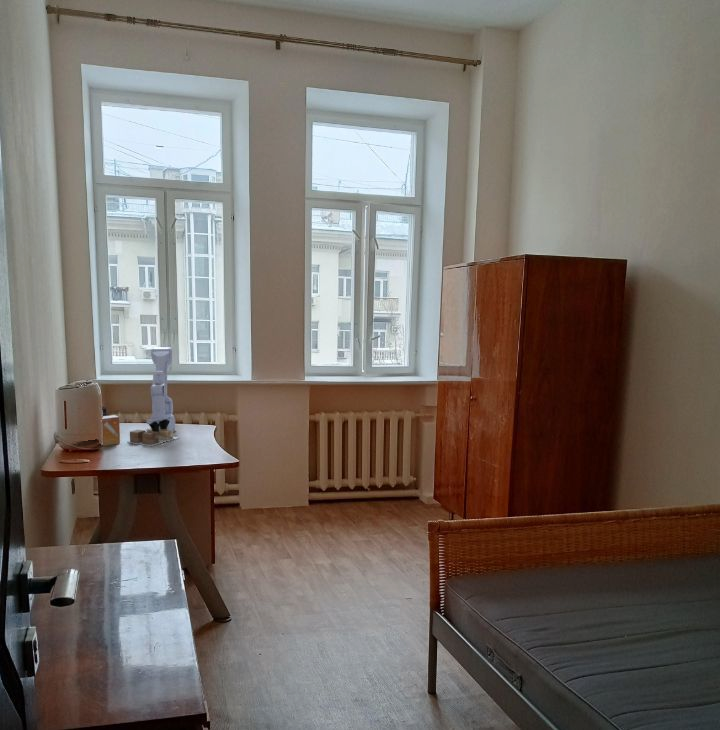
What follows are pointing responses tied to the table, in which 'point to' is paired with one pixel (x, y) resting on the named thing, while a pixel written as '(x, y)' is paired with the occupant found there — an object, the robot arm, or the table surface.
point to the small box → (111, 430)
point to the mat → (155, 443)
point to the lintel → (164, 433)
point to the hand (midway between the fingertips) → (159, 435)
